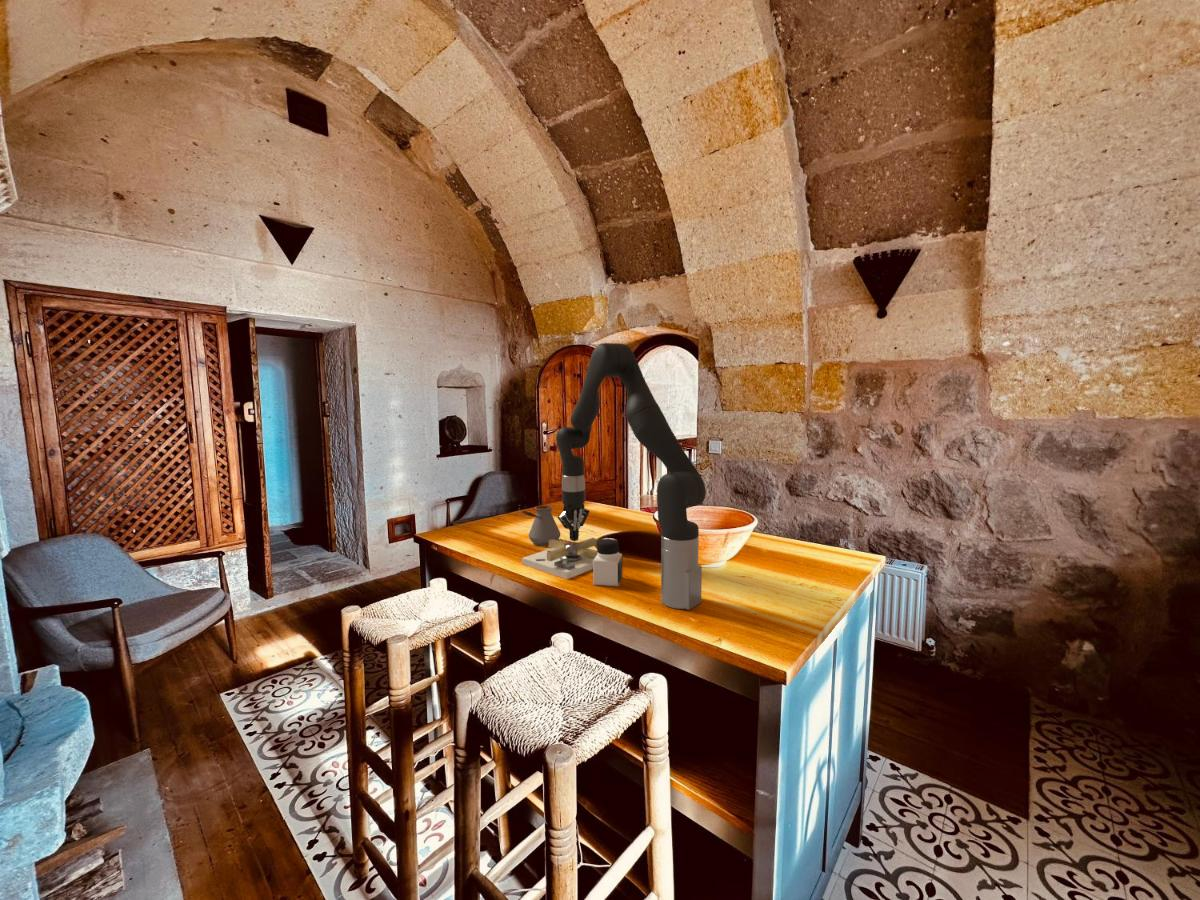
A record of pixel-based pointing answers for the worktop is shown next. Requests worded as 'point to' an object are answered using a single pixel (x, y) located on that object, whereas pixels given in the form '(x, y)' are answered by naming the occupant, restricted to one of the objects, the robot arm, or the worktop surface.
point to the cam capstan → (571, 550)
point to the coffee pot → (543, 526)
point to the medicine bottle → (607, 563)
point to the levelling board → (558, 565)
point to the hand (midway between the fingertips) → (574, 540)
